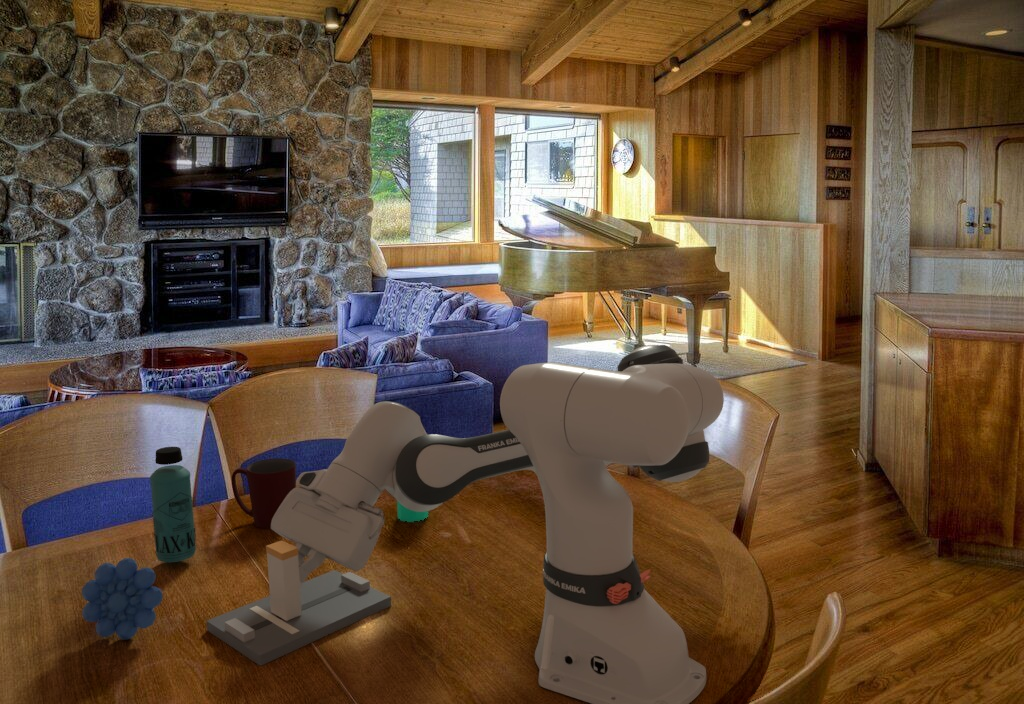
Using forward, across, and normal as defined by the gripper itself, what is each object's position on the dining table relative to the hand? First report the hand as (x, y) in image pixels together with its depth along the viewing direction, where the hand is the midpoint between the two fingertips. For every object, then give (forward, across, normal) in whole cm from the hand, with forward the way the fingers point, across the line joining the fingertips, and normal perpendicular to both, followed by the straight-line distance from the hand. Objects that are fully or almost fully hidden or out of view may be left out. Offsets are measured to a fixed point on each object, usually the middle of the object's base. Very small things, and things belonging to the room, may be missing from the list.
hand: (293, 578), depth 123 cm
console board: (+4, -1, -5) cm, 6 cm away
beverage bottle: (+6, +31, -3) cm, 32 cm away
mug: (-8, +37, -17) cm, 41 cm away
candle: (-22, +18, -31) cm, 42 cm away
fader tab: (+5, -1, -2) cm, 5 cm away
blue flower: (+18, +13, +9) cm, 24 cm away
